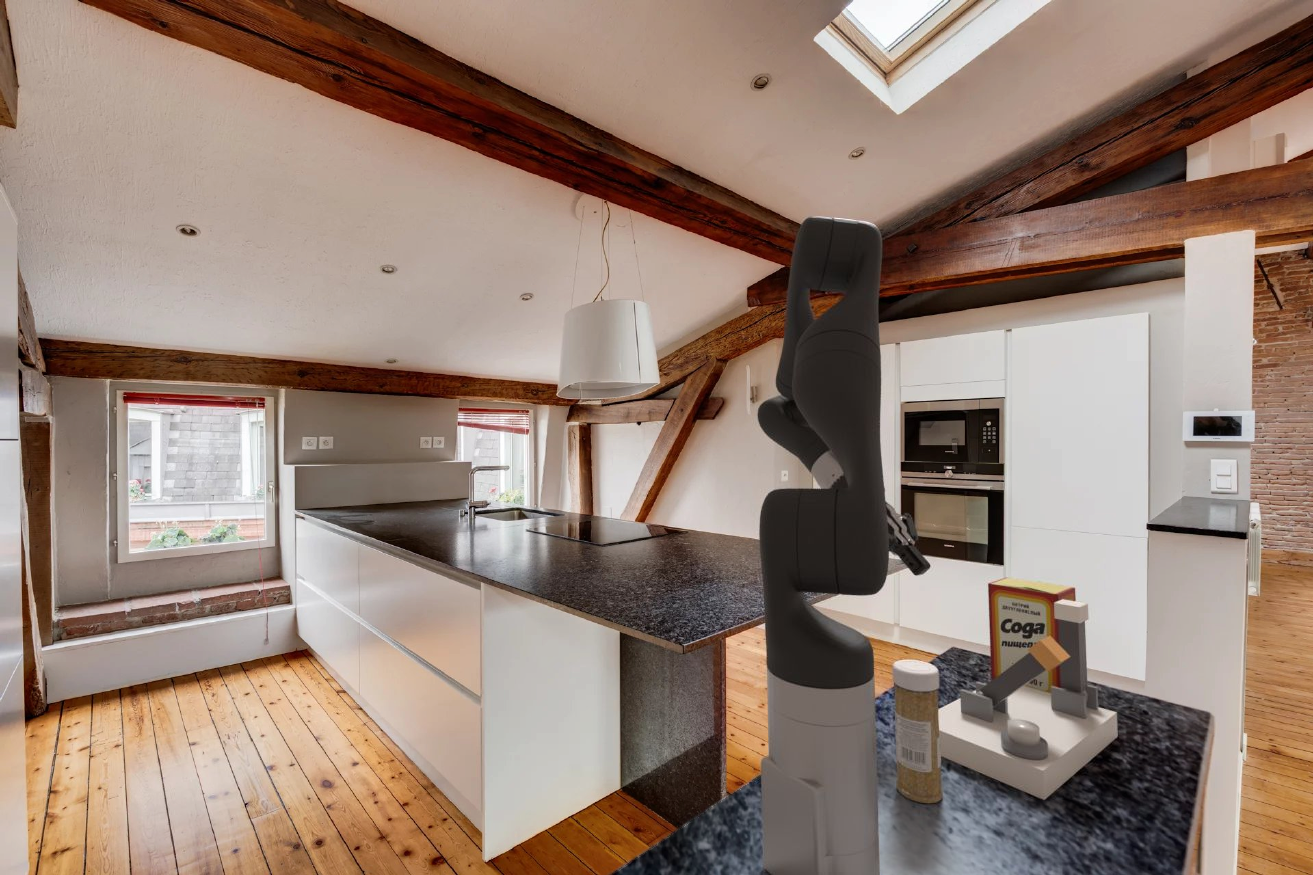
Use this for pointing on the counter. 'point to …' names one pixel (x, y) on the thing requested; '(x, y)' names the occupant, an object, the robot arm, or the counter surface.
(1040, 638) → the baking soda box
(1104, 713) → the switch panel
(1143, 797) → the counter surface
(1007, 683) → the lever orange
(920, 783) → the sprinkles bottle
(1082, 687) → the lever white
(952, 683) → the counter surface
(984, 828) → the counter surface
